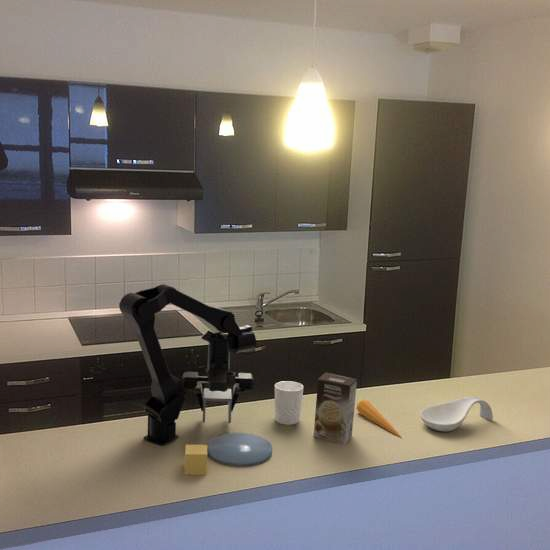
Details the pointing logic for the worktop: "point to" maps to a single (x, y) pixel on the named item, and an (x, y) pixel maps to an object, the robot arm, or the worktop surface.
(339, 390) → the coffee box
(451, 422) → the spoon rest
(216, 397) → the cover
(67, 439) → the worktop surface
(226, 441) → the dish
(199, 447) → the block
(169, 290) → the robot arm
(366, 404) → the carrot
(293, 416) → the white cup
